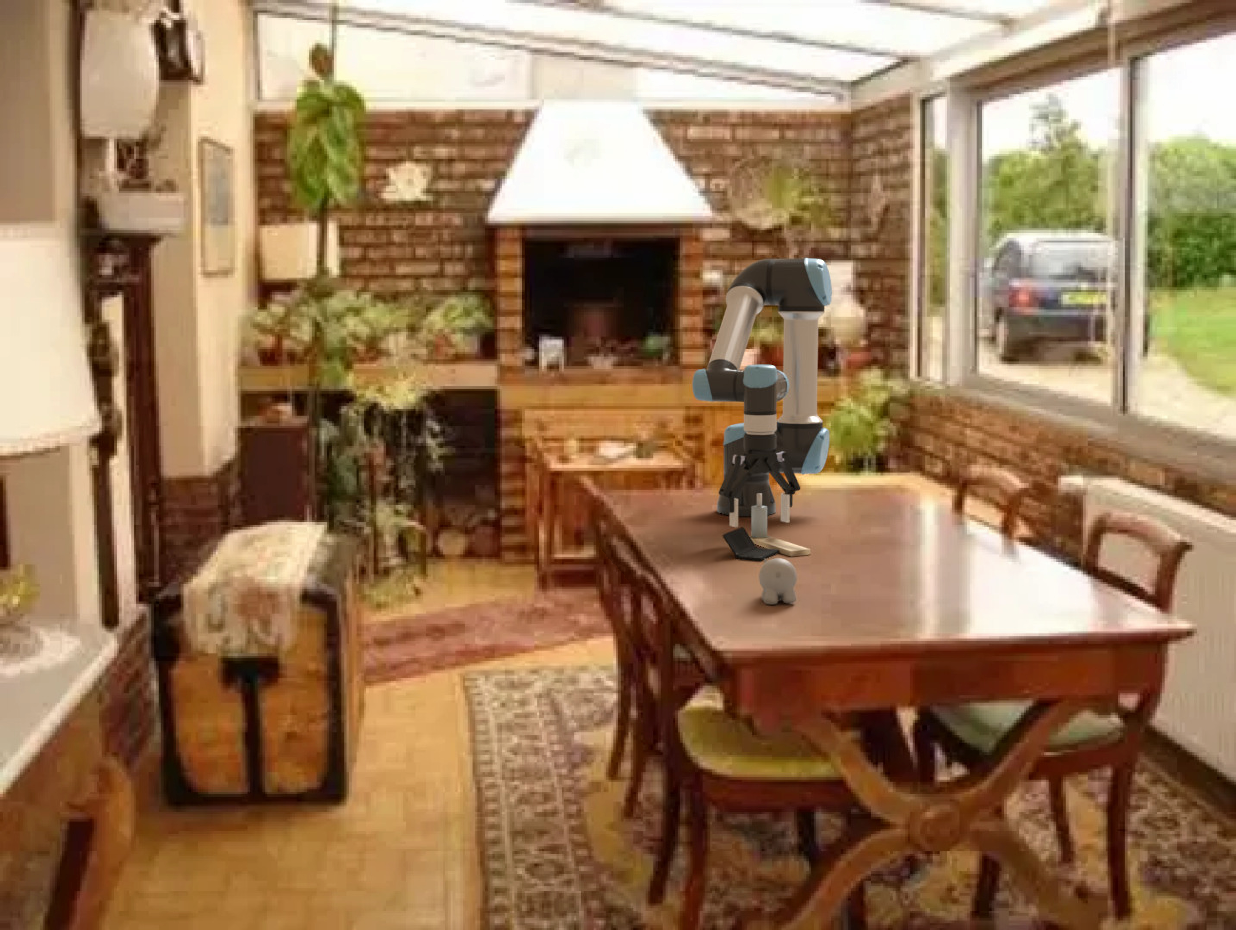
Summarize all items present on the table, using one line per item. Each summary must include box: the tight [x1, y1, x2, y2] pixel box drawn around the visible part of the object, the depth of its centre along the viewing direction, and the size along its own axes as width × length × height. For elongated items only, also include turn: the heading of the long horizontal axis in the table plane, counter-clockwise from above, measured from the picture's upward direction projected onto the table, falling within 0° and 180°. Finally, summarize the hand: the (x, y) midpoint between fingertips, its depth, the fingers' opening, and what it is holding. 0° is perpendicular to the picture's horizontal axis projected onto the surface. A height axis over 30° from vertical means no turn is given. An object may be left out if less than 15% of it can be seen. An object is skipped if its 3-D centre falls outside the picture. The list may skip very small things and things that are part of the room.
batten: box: [749, 535, 811, 558], centre depth 348 cm, size 5×20×1 cm, turn 25°
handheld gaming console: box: [722, 526, 780, 563], centre depth 340 cm, size 12×7×10 cm
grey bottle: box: [750, 493, 768, 538], centre depth 355 cm, size 4×4×10 cm
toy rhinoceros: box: [758, 557, 798, 606], centre depth 296 cm, size 7×12×8 cm, turn 3°
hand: (759, 524), depth 355 cm, fingers open, 13 cm apart
